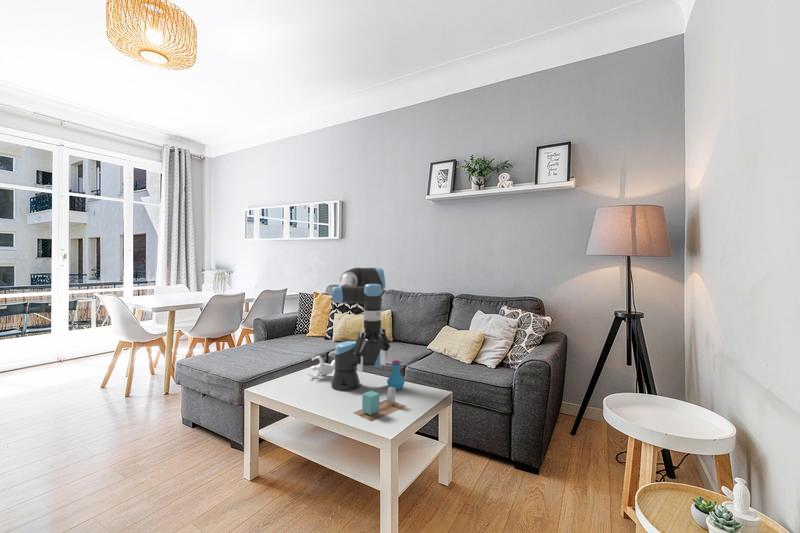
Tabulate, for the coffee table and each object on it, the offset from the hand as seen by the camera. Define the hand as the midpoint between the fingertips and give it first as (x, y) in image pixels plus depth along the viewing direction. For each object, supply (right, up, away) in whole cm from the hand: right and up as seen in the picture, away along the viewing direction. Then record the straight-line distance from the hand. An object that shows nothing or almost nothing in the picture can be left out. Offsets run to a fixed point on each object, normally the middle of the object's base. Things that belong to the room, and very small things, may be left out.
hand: (371, 368), depth 159 cm
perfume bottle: (+10, -21, +32) cm, 40 cm away
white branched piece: (-31, -20, +52) cm, 63 cm away
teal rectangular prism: (0, -19, 0) cm, 19 cm away
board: (+4, -21, +4) cm, 21 cm away
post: (+8, -20, +9) cm, 23 cm away
